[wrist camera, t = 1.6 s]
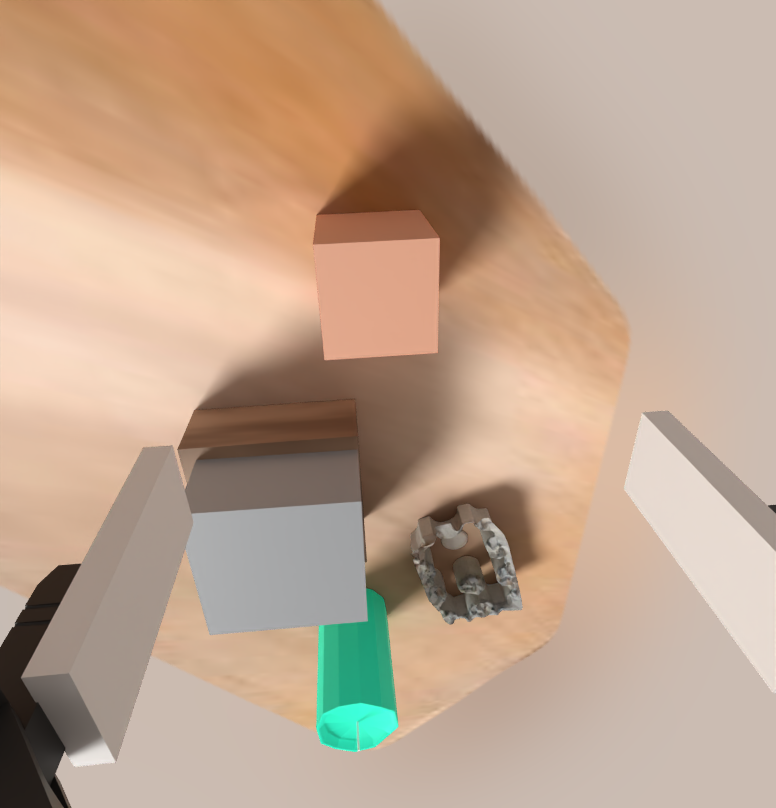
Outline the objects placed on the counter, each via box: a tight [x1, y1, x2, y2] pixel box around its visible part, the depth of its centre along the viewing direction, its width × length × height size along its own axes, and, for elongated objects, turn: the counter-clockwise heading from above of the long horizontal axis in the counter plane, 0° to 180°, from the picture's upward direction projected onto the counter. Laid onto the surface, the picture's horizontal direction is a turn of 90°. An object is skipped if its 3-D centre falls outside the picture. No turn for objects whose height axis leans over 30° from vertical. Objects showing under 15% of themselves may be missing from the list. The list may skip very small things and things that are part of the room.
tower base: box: [178, 399, 367, 562], centre depth 38 cm, size 11×11×5 cm
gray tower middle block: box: [185, 450, 368, 635], centre depth 34 cm, size 10×10×5 cm
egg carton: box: [410, 504, 523, 624], centre depth 45 cm, size 11×8×4 cm
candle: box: [316, 588, 398, 752], centre depth 43 cm, size 6×6×12 cm
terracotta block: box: [313, 210, 440, 360], centre depth 30 cm, size 6×6×7 cm
